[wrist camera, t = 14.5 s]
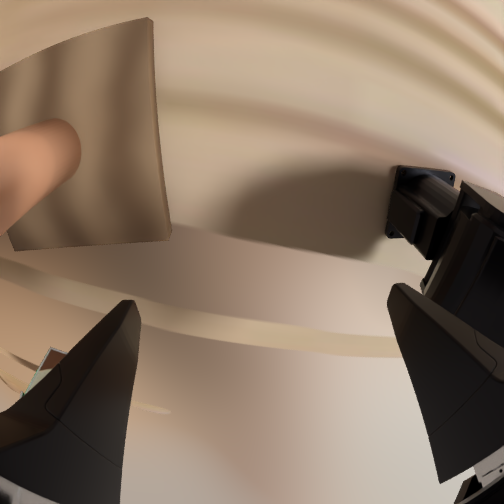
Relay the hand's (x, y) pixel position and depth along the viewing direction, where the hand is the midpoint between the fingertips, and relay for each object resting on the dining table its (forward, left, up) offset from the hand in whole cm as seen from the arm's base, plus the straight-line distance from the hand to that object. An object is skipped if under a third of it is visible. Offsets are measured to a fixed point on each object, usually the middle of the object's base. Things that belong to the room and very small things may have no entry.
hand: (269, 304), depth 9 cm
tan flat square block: (+14, -4, -13) cm, 20 cm away
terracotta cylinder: (+14, -4, -12) cm, 18 cm away
